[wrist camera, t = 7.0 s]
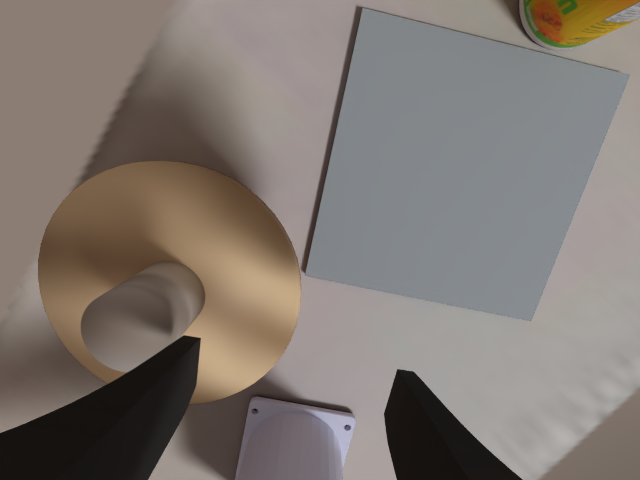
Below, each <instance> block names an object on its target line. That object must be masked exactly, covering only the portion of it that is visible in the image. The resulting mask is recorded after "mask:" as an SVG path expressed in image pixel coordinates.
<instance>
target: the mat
mask: <svg viewBox="0 0 640 480" xmlns="http://www.w3.org/2000/svg"><path fill="white" fill-rule="evenodd" d="M629 76H630V75H628V74H624V73H620V72H616V71H612V70H608V69H604V68H600V67H596V66H592V65H588V64H584V63H580V62H576V61H572V60H569V59H565V58H561V57H557V56H553V55H549V54H545V53H541V52H537V51H533V50H529V49H525V48H521V47H517V46H513V45H509V44H505V43H501V42H497V41H493V40H489V39H485V38H481V37H477V36H473V35H469V34H465V33H461V32H457V31H453V30H449V29H445V28H441V27H437V26H433V25H429V24H425V23H421V22H417V21H413V20H409V19H405V18H402V17H398V16H394V15H390V14H386V13H382V12H378V11H374V10H370V9H366V8H363V9H362V13H361V17H360V22H359V27H358V31H357V36H356V41H355V45H354V50H353V54H352V59H351V64H350V68H349V73H348V78H347V82H346V87H345V91H344V96H343V101H342V105H341V110H340V115H339V119H338V124H337V129H336V133H335V138H334V142H333V147H332V152H331V156H330V161H329V166H328V170H327V175H326V179H325V184H324V189H323V193H322V198H321V203H320V207H319V212H318V217H317V221H316V226H315V230H314V235H313V240H312V244H311V249H310V254H309V258H308V263H307V267H306V272H305V276H308V277H313V278H318V279H323V280H328V281H333V282H338V283H343V284H348V285H353V286H358V287H363V288H368V289H373V290H378V291H383V292H388V293H393V294H398V295H403V296H408V297H413V298H418V299H423V300H428V301H432V302H437V303H442V304H447V305H452V306H457V307H462V308H467V309H472V310H477V311H482V312H487V313H492V314H497V315H502V316H507V317H512V318H517V319H522V320H527V321H531V320H532V318H533V315H534V313H535V310H536V308H537V305H538V303H539V300H540V298H541V295H542V293H543V290H544V288H545V285H546V283H547V280H548V278H549V275H550V273H551V270H552V268H553V265H554V263H555V260H556V258H557V256H558V253H559V251H560V248H561V246H562V243H563V241H564V238H565V236H566V233H567V231H568V228H569V226H570V223H571V221H572V218H573V216H574V213H575V211H576V208H577V206H578V203H579V201H580V198H581V196H582V193H583V191H584V188H585V186H586V183H587V181H588V178H589V176H590V173H591V171H592V168H593V166H594V163H595V161H596V158H597V156H598V153H599V151H600V148H601V146H602V143H603V141H604V138H605V136H606V133H607V131H608V129H609V126H610V124H611V121H612V119H613V116H614V114H615V111H616V109H617V106H618V104H619V101H620V99H621V96H622V94H623V91H624V89H625V86H626V84H627V81H628V79H629Z"/></svg>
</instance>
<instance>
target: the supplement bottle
mask: <svg viewBox="0 0 640 480" xmlns="http://www.w3.org/2000/svg"><path fill="white" fill-rule="evenodd" d="M519 11H520V17H521V21H522V24H523V27H524V29H525V31H526V32H527V34H528V35H529V36H530V38H531V39H532V40H533V41H535V42H536V43H537V44H539V45H540V46H542V47H545V48H548V49H553V50H565V49H570V48H574V47H577V46H580V45H582V44H585V43H587V42H589V41H592V40H594V39H596V38H598V37H600V36H603V35H605V34H607V33H609V32H611V31H614V30H616V29H618V28H620V27H623V26H625V25H627V24H629V23H631V22H634V21H636V20H638V19H640V0H519Z"/></svg>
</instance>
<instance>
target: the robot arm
mask: <svg viewBox="0 0 640 480" xmlns="http://www.w3.org/2000/svg"><path fill="white" fill-rule="evenodd" d="M200 343H201V338H198V337H192V336H186V335H183V336H182V337H180V338H179V339H177V340H176V341H174V342H173V343H171V344H170V345H168V346H167V347H166V348H164V349H163V350H161V351H160V352H158V353H157V354H155V355H154V356H152V357H151V358H149V359H148V360H146V361H145V362H143V363H142V364H140V365H138V366H137V367H135V368H134V369H132V370H131V371H129V372H127V373H126V374H124V375H122V376H121V377H119V378H117V379H116V380H114V381H112V382H110V383H109V384H107V385H105V386H104V387H102V388H100V389H98V390H96V391H94V392H92V393H90V394H89V395H87V396H85V397H83V398H81V399H79V400H77V401H75V402H72V403H70V404H68V405H66V406H64V407H62V408H60V409H57V410H55V411H53V412H51V413H48V414H46V415H44V416H41V417H39V418H37V419H34V420H32V421H30V422H27V423H25V424H23V425H20V426H18V427H15V428H13V429H10V430H8V431H5V432H2V433H0V480H148V479H149V477H150V475H151V473H152V471H153V470H154V468H155V466H156V464H157V463H158V461H159V459H160V457H161V455H162V454H163V452H164V450H165V448H166V446H167V445H168V443H169V441H170V439H171V438H172V436H173V434H174V432H175V430H176V429H177V427H178V425H179V423H180V421H181V419H182V418H183V416H184V414H185V412H186V409H187V407H188V405H189V402H190V400H191V398H192V395H193V393H194V390H195V388H196V385H197V375H198V364H199V354H200ZM254 408H256V409H257V410H253V409H254ZM384 417H385V426H386V433H387V440H388V446H389V450H390V454H391V458H392V462H393V466H394V470H395V474H396V478H397V480H522V479H521V478H520V477H519V476H518V475H516V474H515V473H514V472H513V471H512V470H510V469H509V468H508V467H507V466H506V465H505V464H504V463H502V462H501V461H500V460H499V459H498V458H497V457H496V456H494V455H493V454H492V453H491V452H490V451H489V450H488V449H487V448H486V447H485V446H483V445H482V444H481V443H480V442H479V441H478V440H477V439H476V438H475V437H474V436H473V435H472V434H471V433H470V432H469V431H468V430H467V429H466V428H465V427H464V426H463V425H462V424H461V423H460V422H459V421H458V420H457V419H456V417H455V416H454V415H453V414H452V413H451V412H450V411H449V410H448V409H447V408H446V407H445V406H444V405H443V403H442V402H441V401H440V400H439V399H438V398H437V397H436V396H435V395H434V393H433V392H432V391H431V390H430V389H429V388H428V387H427V386H426V384H425V383H424V382H423V381H422V380H421V379H420V378H419V377H418V376H417V375H416V374H415V373H414V372H412V371H406V370H399V369H397V372H396V376H395V379H394V382H393V386H392V389H391V392H390V396H389V399H388V402H387V406H386V409H385V412H384ZM355 423H356V420H355V416H354V415H353V414H351V413H347V412H341V411H335V410H330V409H324V408H319V407H313V406H307V405H302V404H296V403H291V402H285V401H279V400H274V399H268V398H263V397H253V398H252V399H251V400H250V403H249V408H248V413H247V419H246V424H245V429H244V434H243V439H242V444H241V450H240V455H239V460H238V465H237V470H236V476H235V480H343V470H342V468H343V465H344V461H345V458H346V454H347V451H348V447H349V444H350V440H351V437H352V433H353V430H354V426H355ZM345 425H350V426H345Z"/></svg>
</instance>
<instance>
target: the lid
mask: <svg viewBox="0 0 640 480" xmlns="http://www.w3.org/2000/svg"><path fill="white" fill-rule="evenodd" d="M38 280H39V287H40V294H41V298H42V301H43V305H44V309H45V311H46V313H47V316H48V318H49V320H50V323H51V325H52V327H53V328H54V330H55V332H56V334H57V335H58V337H59V339H60V340H61V341H62V343H63V344H64V345H65V347H66V348H67V349H68V351H69V352H70V353H71V354H72V355H73V356H74V357H75V358H76V359H77V360H78V361H79V362H80V363H81V364H82V365H83V366H84V367H85V368H86V369H88V370H89V371H90V372H91V373H92V374H94V375H95V376H97V377H98V378H100V379H101V380H103V381H104V382H106V383H107V384H109V383H110V382H112V381H114V380H116V379H117V378H119V377H121V376H122V375H124V374H126V373H127V372H129V371H131V370H132V369H134V368H135V367H137V366H138V365H140V364H142V363H143V362H145V361H146V360H148V359H149V358H151V357H152V356H154V355H155V354H157V353H158V352H160V351H161V350H163V349H164V348H166V347H167V346H168V345H170V344H171V343H173V342H174V341H176V340H177V339H179V338H180V337H182V336H183V335H186V336H192V337H198V338H201V343H200V354H199V364H198V375H197V385H196V388H195V390H194V393H193V395H192V398H191V400H190V402H189V404H199V403H205V402H211V401H215V400H219V399H222V398H226V397H228V396H231V395H233V394H235V393H238V392H240V391H242V390H244V389H245V388H247V387H249V386H250V385H252V384H254V383H255V382H256V381H258V380H259V379H260V378H261V377H263V376H264V375H265V374H266V373H267V372H268V371H269V370H270V369H271V368H272V367H273V366H274V365H275V364H276V363H277V361H278V360H279V359H280V357H281V356H282V354H283V353H284V351H285V350H286V348H287V346H288V344H289V342H290V340H291V338H292V335H293V333H294V330H295V327H296V324H297V319H298V314H299V309H300V299H301V277H300V270H299V265H298V260H297V256H296V254H295V251H294V248H293V245H292V242H291V241H290V239H289V237H288V235H287V233H286V231H285V229H284V227H283V226H282V224H281V223H280V221H279V220H278V218H277V217H276V216H275V214H274V213H273V212H272V211H271V210H270V209H269V207H268V206H267V205H266V204H265V203H264V202H263V201H262V200H261V199H260V198H259V197H257V196H256V195H255V194H254V193H253V192H252V191H250V190H249V189H248V188H246V187H245V186H243V185H242V184H240V183H239V182H237V181H236V180H234V179H232V178H230V177H228V176H226V175H224V174H222V173H220V172H217V171H214V170H212V169H209V168H206V167H203V166H199V165H194V164H190V163H185V162H173V161H143V162H135V163H130V164H124V165H120V166H117V167H114V168H111V169H108V170H106V171H103V172H101V173H99V174H97V175H95V176H94V177H92V178H90V179H88V180H87V181H85V182H84V183H83V184H81V185H80V186H78V187H77V188H76V189H74V190H73V191H72V192H71V193H70V194H69V195H68V196H67V197H66V198H65V200H64V201H63V202H62V203H61V205H60V206H59V207H58V209H57V210H56V211H55V213H54V214H53V216H52V218H51V220H50V222H49V224H48V226H47V228H46V230H45V233H44V236H43V239H42V243H41V247H40V253H39V259H38Z"/></svg>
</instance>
